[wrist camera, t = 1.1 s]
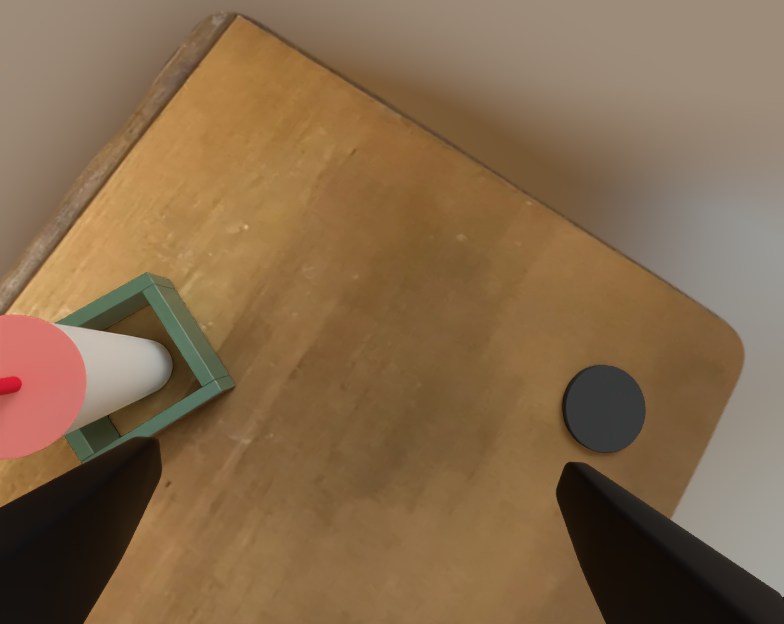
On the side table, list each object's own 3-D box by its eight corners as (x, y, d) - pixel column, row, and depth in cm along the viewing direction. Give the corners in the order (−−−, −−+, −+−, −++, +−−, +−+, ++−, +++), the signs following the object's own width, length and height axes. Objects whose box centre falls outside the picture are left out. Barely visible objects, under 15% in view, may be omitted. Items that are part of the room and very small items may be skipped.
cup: (207, 373, 23) (49, 413, 11) (132, 428, 22) (-123, 536, 10) (154, 306, 23) (-64, 272, 11) (78, 359, 22) (-245, 386, 10)
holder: (117, 459, 22) (88, 474, 19) (47, 347, 22) (8, 348, 19) (236, 385, 23) (222, 391, 20) (168, 278, 23) (146, 271, 20)
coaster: (592, 468, 25) (596, 470, 25) (546, 395, 25) (549, 396, 25) (656, 419, 26) (661, 420, 26) (612, 348, 26) (615, 349, 26)
